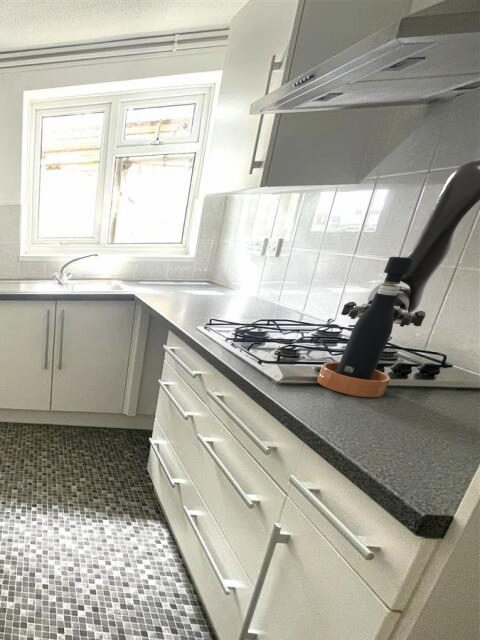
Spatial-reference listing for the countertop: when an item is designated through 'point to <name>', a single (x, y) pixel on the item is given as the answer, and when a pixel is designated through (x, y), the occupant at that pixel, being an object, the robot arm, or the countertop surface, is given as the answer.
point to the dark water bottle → (374, 325)
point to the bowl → (352, 382)
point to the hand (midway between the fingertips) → (378, 318)
